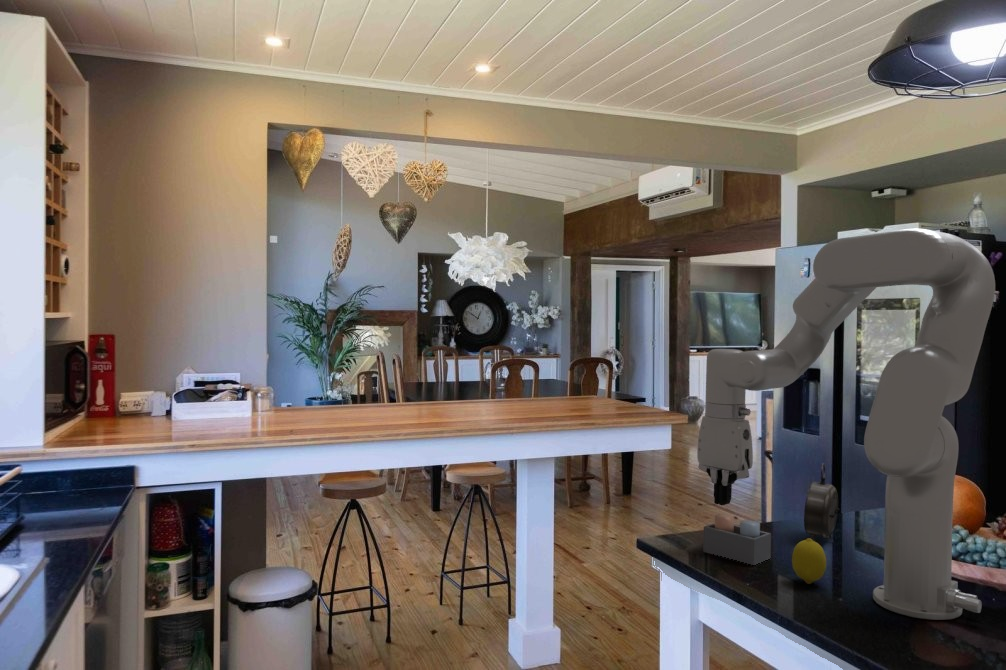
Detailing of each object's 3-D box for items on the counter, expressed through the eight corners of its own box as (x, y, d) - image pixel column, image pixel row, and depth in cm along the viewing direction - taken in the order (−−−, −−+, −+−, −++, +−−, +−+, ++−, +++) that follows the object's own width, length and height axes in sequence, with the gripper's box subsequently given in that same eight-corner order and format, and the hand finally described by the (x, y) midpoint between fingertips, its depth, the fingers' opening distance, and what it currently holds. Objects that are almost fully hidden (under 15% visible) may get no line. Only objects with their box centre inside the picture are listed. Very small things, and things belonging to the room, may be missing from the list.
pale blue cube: (763, 543, 141) (763, 523, 141) (753, 547, 138) (753, 526, 138) (746, 539, 144) (746, 519, 143) (736, 543, 141) (736, 522, 141)
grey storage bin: (770, 559, 141) (771, 533, 141) (754, 566, 137) (754, 539, 137) (720, 545, 149) (720, 521, 149) (703, 551, 145) (703, 526, 145)
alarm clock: (814, 532, 159) (815, 457, 158) (841, 536, 156) (842, 460, 155) (801, 545, 150) (802, 466, 149) (830, 550, 147) (831, 469, 146)
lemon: (829, 590, 125) (829, 544, 125) (794, 588, 126) (795, 542, 126) (821, 579, 130) (822, 534, 130) (788, 577, 131) (789, 532, 131)
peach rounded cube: (737, 537, 145) (737, 517, 145) (727, 540, 143) (727, 520, 143) (721, 533, 148) (721, 513, 148) (710, 536, 145) (711, 516, 145)
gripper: (769, 414, 141) (767, 508, 142) (703, 405, 153) (700, 493, 154) (749, 418, 137) (746, 515, 137) (681, 408, 148) (679, 498, 149)
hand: (722, 503), depth 145 cm, fingers closed
